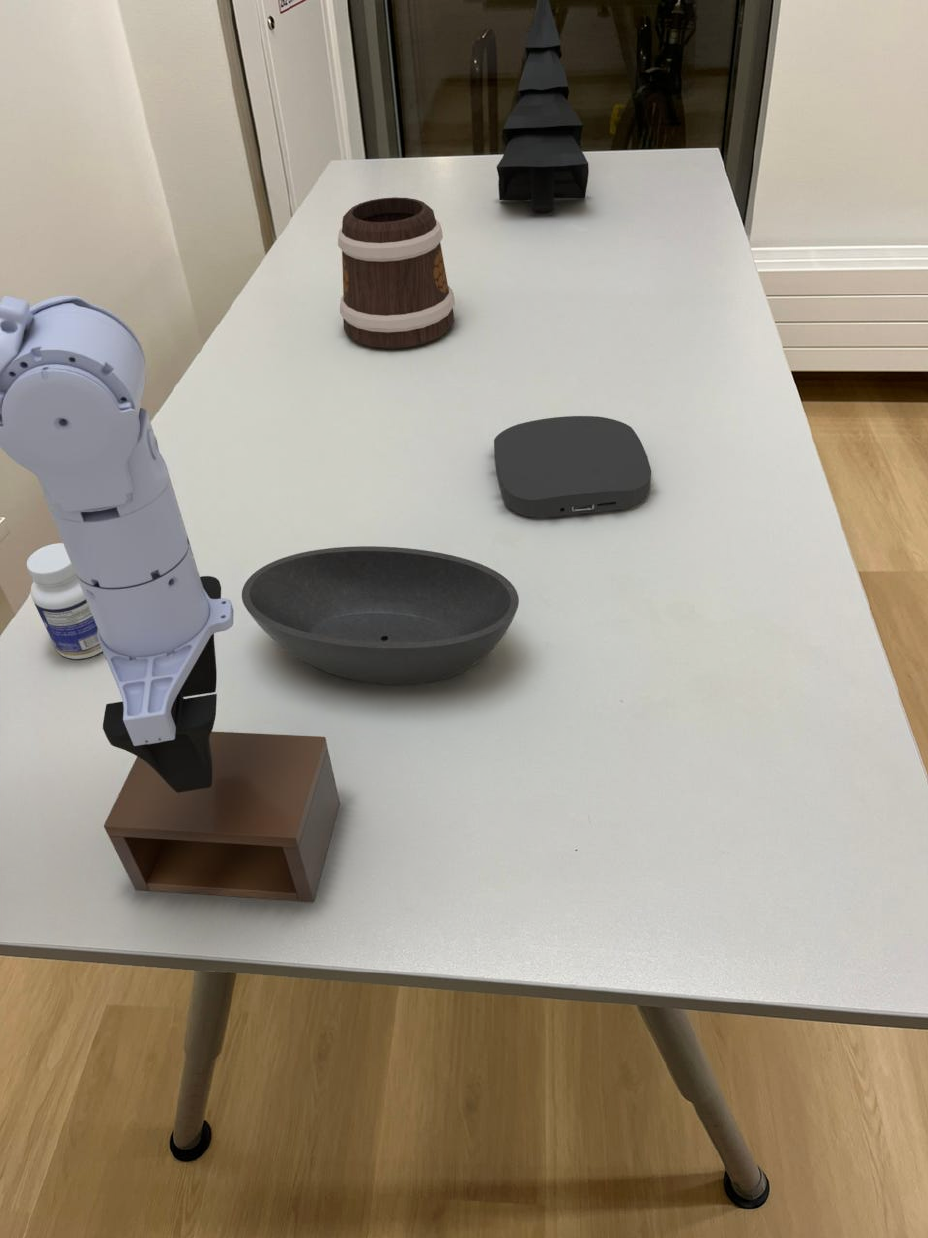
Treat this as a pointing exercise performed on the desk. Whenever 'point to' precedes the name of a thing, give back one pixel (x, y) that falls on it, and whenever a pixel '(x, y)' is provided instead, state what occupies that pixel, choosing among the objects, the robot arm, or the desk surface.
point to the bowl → (382, 611)
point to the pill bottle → (62, 603)
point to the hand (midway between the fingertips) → (196, 735)
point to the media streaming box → (571, 466)
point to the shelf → (232, 821)
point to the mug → (394, 274)
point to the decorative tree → (542, 127)
